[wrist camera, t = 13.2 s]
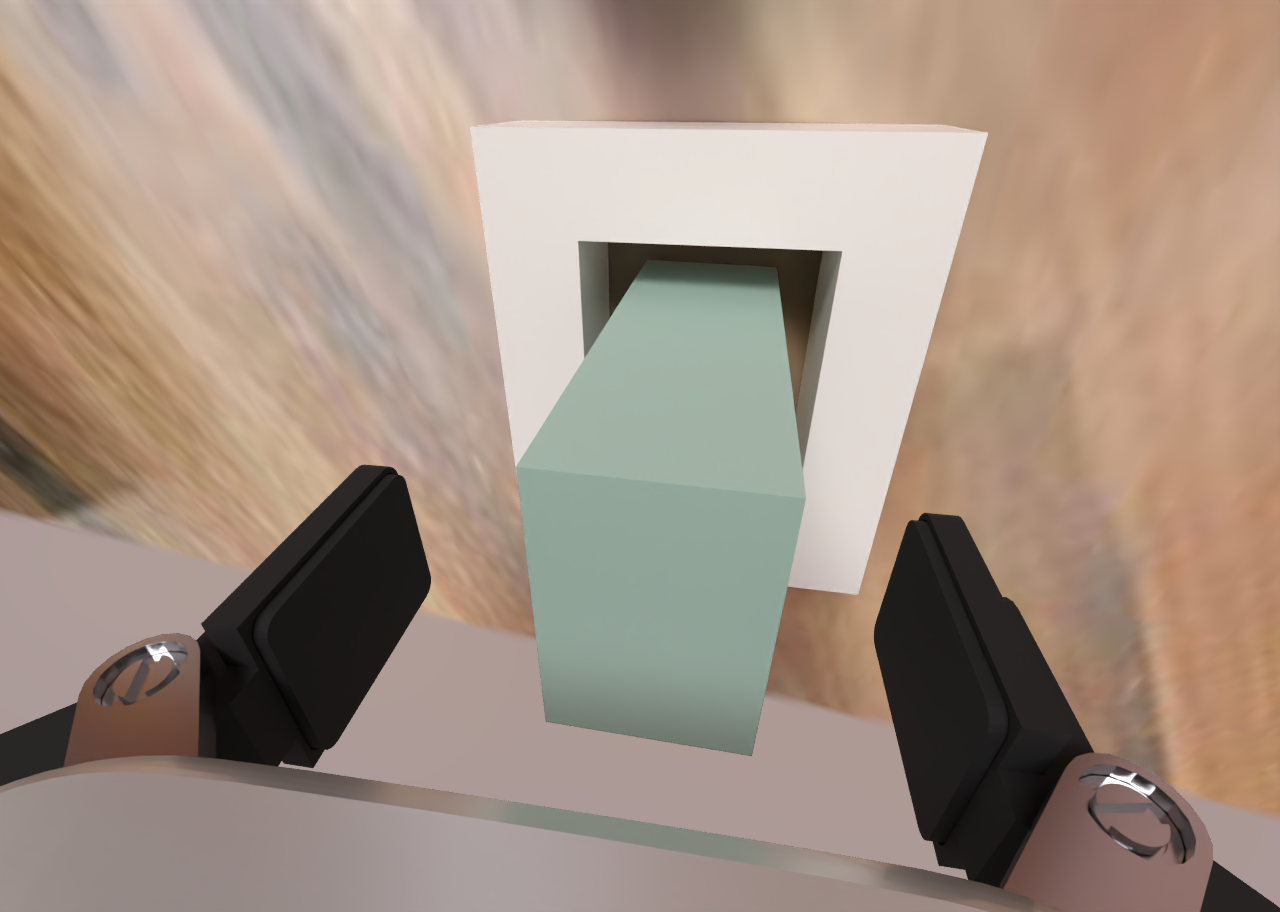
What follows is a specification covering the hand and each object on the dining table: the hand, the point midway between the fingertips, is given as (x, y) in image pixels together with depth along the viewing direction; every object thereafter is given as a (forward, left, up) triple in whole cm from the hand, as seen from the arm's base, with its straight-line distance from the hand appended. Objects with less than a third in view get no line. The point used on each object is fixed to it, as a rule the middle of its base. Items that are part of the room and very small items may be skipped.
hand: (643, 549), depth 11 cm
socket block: (0, 0, -10) cm, 10 cm away
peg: (0, 0, -10) cm, 10 cm away
